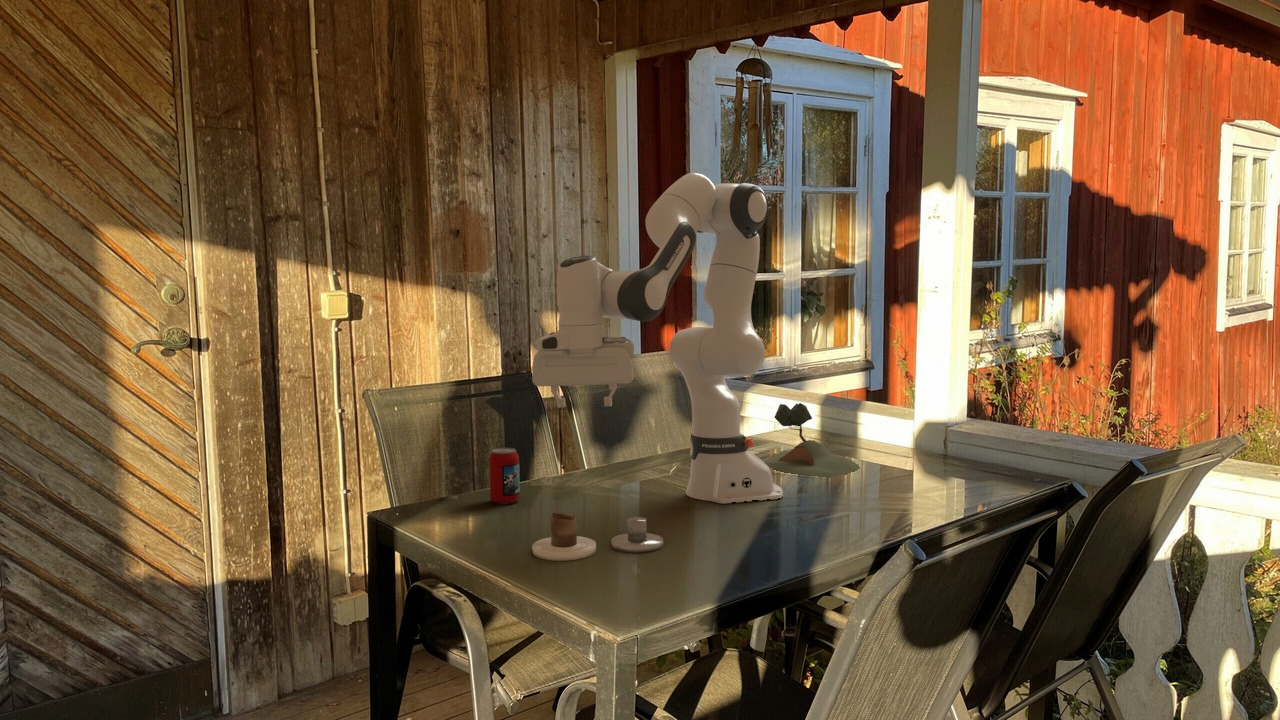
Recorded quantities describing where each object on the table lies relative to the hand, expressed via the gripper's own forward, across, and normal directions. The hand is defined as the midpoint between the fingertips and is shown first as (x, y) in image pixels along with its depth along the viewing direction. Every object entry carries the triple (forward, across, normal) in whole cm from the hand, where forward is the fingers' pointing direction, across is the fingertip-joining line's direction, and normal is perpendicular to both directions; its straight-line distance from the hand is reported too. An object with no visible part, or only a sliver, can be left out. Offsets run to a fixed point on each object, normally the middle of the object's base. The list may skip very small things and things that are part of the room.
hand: (584, 406), depth 191 cm
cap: (+23, +3, +15) cm, 28 cm away
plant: (+30, -50, -64) cm, 86 cm away
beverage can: (+26, +22, -23) cm, 41 cm away
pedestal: (+25, -10, +11) cm, 29 cm away
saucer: (+25, +3, +15) cm, 29 cm away
